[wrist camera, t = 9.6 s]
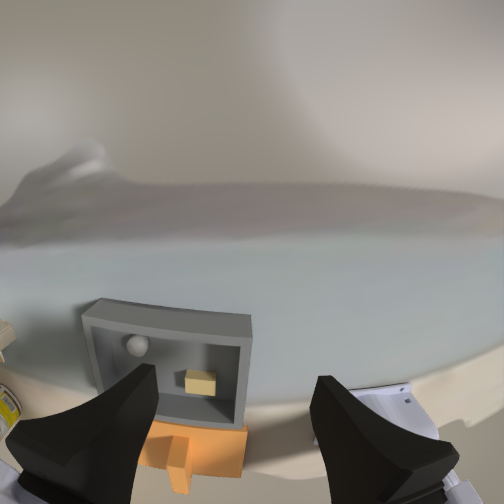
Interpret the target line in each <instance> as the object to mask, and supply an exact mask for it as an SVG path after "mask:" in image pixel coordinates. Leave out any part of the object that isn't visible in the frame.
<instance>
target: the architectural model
mask: <svg viewBox="0 0 504 504" xmlns="http://www.w3.org/2000/svg"><path fill="white" fill-rule="evenodd" d="M14 340H16V336H15V333H14V329H13V326H12V325H11V323H8V322H6V321H3V320H1V319H0V362H1V363H4V362H5V360H4V358H3V355H2V352H1V351H2V350H3V349H4V348H5V347H7V346H8V345H9V344H10V343H12V342H13V341H14Z"/></svg>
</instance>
